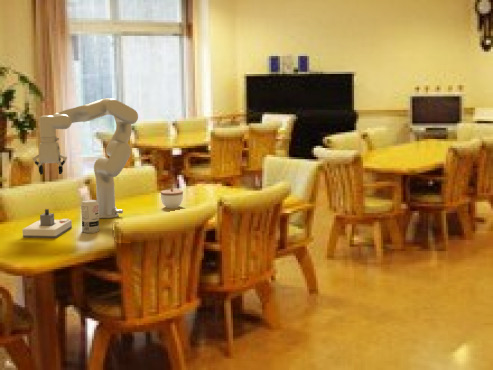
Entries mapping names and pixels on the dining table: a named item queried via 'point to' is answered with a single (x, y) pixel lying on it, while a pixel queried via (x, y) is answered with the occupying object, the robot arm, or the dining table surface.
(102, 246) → the dining table surface
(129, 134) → the robot arm
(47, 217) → the plug
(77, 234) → the dining table surface
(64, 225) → the socket
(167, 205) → the lidded bowl
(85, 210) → the supplement can
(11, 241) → the dining table surface
